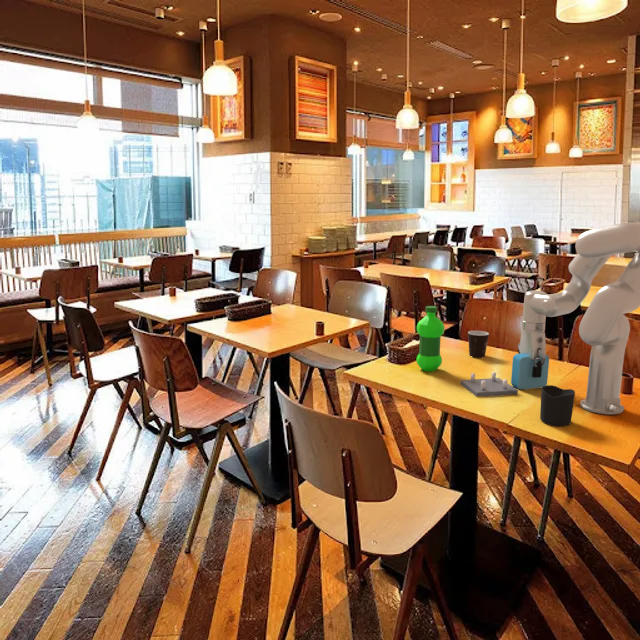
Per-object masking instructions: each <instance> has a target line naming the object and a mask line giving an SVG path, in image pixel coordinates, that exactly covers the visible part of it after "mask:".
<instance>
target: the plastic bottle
mask: <svg viewBox="0 0 640 640" xmlns="http://www.w3.org/2000/svg"><path fill="white" fill-rule="evenodd" d="M425 312H426V315H425V316H424V317H423V318H422V319H421V320H419V321H418V322H417V325H416V333H417V334H418V335H419V342H418V343H419V344H418V345H419V347H418V348H419V349H418V350H419V351H418V354H417V356H416V360H415V361H416V364H417V366H418V367H419V368H420V369H421V370H422V371H424V372H430V373H431V372H435V371H436V370H437V369H438V368H439V367H441V365H442V364H443V363H442V362H443V358H442V356H441V337H442V335H444V332H445V324H444V322H443V321H442V320H440V319H439V318H438V317H437V316H436V313H438V307H437V306H436V305H427V306H425Z"/></svg>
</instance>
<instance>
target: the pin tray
mask: <svg viewBox="0 0 640 640" xmlns="http://www.w3.org/2000/svg"><path fill="white" fill-rule="evenodd" d="M459 381H460V382H459V383H460V386H462V387H463V388H465V389H466V390H467V391H468V392H470V393H471V394H472V395H474V396H475V397H476V398H478V396H482V397H495V396H512V395H513V394H515V395H518V394H519V389H518V388H516V387H514V386H513V385H512V384H510V383H508V379H506V378H503V379H502V378H500V377H497V372H495V371H492V372H491V377H489V378H476V373H474V372H471V373H470V379H460V380H459Z"/></svg>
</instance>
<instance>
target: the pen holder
mask: <svg viewBox="0 0 640 640" xmlns="http://www.w3.org/2000/svg"><path fill="white" fill-rule="evenodd" d="M540 389H541V390H540V409H539V410H540V411H539V413H540V416H539V418H540V421H541V422H542V423H543V424H545V425H548V426H552V427H559V428H560V427H562V428H563V427H567V426H569V425H570V424H571V423H572V417H573V410H574V402H575V397H576V391H575V389H572V388H569V389H568V388H567V389H564V388H561V387H558V386H557V385H550V384H549V385H548V384H547V385H546V386H543V387H542V388H540Z"/></svg>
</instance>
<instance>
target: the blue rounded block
mask: <svg viewBox="0 0 640 640" xmlns="http://www.w3.org/2000/svg"><path fill="white" fill-rule="evenodd" d="M545 357H546V359H545V361H544V364H543V367H542V373H541V377H537V378H533V377H532V370H533V366H534V364H533V360H531V359H530V358H529V356H527V355H525V354H523V353H522V354H519V353H516V354H514V355H513V356H512V362H511V363H512V364H511V365H512V366H511V378H510V379H511V380H510V385H511V386H512V387H514V388H515V389H517V390H521V389H524V390H530V389H531V388H534V389H541V387H543V386H547V385H548V378H549V367H550V366H549V365H550V357H549V355H547V354H545ZM535 358H538V357H535ZM538 361H539V360H536V362H538ZM531 390H532V389H531Z"/></svg>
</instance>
